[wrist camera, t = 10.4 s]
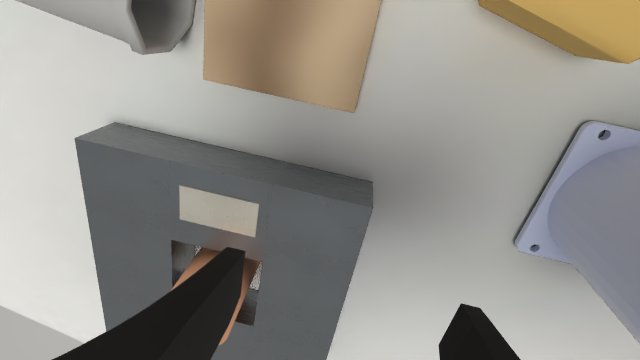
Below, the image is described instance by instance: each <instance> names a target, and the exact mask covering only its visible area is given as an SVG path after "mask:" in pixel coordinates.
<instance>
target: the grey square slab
mask: <svg viewBox="0 0 640 360" xmlns="http://www.w3.org/2000/svg"><path fill="white" fill-rule="evenodd" d="M75 143H76V150H77V156H78V162H79V168H80V174H81V180H82V186H83V192H84V198H85V204H86V210H87V216H88V222H89V228H90V234H91V240H92V246H93V253H94V259H95V265H96V271H97V277H98V283H99V289H100V295H101V301H102V307H103V313H104V319H105V325H106V331H109V330H110V329H112V328H114V327H116V326H117V325H119V324H121V323H122V322H124V321H126V320H127V319H129V318H131V317H132V316H134V315H136V314H137V313H139V312H140V311H142V310H143V309H145V308H147V307H148V306H150V305H151V304H153V303H154V302H155V301H157V300H158V299H160V298H161V297H163V296H164V295H166V294H167V293H169V292H170V291H171V290H172V288H173V287H174V285H175V284H176V283H177V281H178V280H179V278H180V277H181V276H182V274H183V273H184V271H185V270H186V269H187V267H188V266H189V265H190V263H191V262H192V260H193V259H194V258H195V246H199V247H204V248H208V249H212V250H216V251H220V252H221V251H222V250H223V249H225V248H226V247H231V248H235V249H239V250H243V251H245V258H249V259H253V260H257V261H261V262H263V264H262V271H261V278H260V285H259V291H257V290H253V289H248V291H247V294H246V296H245V298H244V301H243V303H242V305H241V308H240V310H239V312H238V315H237V317H236V319H235V322H234V324H233V326H232V329H231V331H230V333H229V336H228V338H227V339H226V341H225V342H224V343H222V344H221V345H219V346H218V347H217V349H216V351H215V352H214V354H213V356H212V358H211V360H326V359H327V355H328V352H329V349H330V346H331V342H332V339H333V336H334V333H335V329H336V326H337V323H338V320H339V316H340V313H341V310H342V307H343V303H344V300H345V297H346V294H347V290H348V287H349V284H350V281H351V277H352V274H353V271H354V268H355V264H356V261H357V258H358V255H359V251H360V248H361V245H362V242H363V238H364V235H365V232H366V229H367V226H368V222H369V219H370V216H371V213H372V209H373V184H372V182H370V181H365V180H361V179H357V178H352V177H348V176H344V175H339V174H335V173H331V172H326V171H322V170H318V169H313V168H309V167H305V166H300V165H296V164H292V163H287V162H283V161H279V160H274V159H270V158H266V157H261V156H257V155H253V154H248V153H244V152H240V151H235V150H231V149H227V148H222V147H218V146H214V145H209V144H205V143H201V142H196V141H192V140H188V139H183V138H179V137H175V136H170V135H166V134H162V133H157V132H153V131H149V130H144V129H140V128H136V127H132V126H127V125H123V124H119V123H112V124H110V125H107V126H105V127H102V128H99V129H97V130H94V131H92V132H89V133H86V134H84V135H81V136H79V137H76V138H75Z"/></svg>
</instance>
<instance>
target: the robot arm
mask: <svg viewBox="0 0 640 360" xmlns="http://www.w3.org/2000/svg"><path fill="white" fill-rule="evenodd" d="M603 130H605V134H604V135H603V136H602V137H600V138H598V135H599V133H600V132H601V131H603ZM514 244H515V247H516V248H517V249H518V251H520V252H523V253H527V254H531V255H536V256H540V257H544V258H548V259H553V260H557V261H561V262H565V263H570V264H573V265H574V267H575V268H576V269H577V270H578V271H579V273H580V274H581V275H582V276H583V277H584V279H585V280H586V281H587V282H588V283H589V284H590V286H591V287H592V288H593V289H594V290H595V292H596V293H597V294H598V295H599V296H600V298H601V299H602V300H603V301H604V302H605V303H606V305H607V306H608V307H609V308H610V309H611V311H612V312H613V313H614V314H615V315H616V317H617V318H618V319H619V320H620V321H621V322H622V324H623V325H624V326H625V327H626V328H627V330H628V331H629V332H630V333H631V334H632V336H633V337H634V338H635V339H636V340H637V341H638V343H639V344H640V131H639V130H634V129H630V128H625V127H620V126H616V125H611V124H606V123H602V122H597V121H589V122H586V123H585V124H583V125H582V126H581V127H580V129H579V130H578V132H577V134H576V136H575V137H574V139H573V141H572V142H571V144H570V146H569V148H568V149H567V151H566V153H565V155H564V156H563V158H562V160H561V162H560V163H559V165H558V167H557V169H556V170H555V172H554V174H553V176H552V177H551V179H550V181H549V183H548V184H547V186H546V188H545V190H544V191H543V193H542V195H541V197H540V198H539V200H538V202H537V204H536V205H535V207H534V209H533V210H532V212H531V214H530V216H529V217H528V219H527V221H526V223H525V224H524V226H523V228H522V230H521V231H520V233H519V235H518V237H517V238H516V240H515V243H514ZM534 244H536V246H535V247H533V248H530V247H531V246H532V245H534ZM244 260H245V251H243V250H239V249H235V248H231V247H226V248H225V249H223V250H222V251H221V252H220V253H219V254H217V255H216V256H215V257H214V258H213V259H211V260H210V261H209V262H208V263H207V264H205V265H204V266H203V267H202V268H200V269H199V270H198V271H197V272H195V273H194V274H193V275H191V276H190V277H189V278H188V279H186V280H185V281H184V282H182V283H181V284H180V285H178V286H177V287H176V288H174V289H173V290H171V291H170V292H169V293H167V294H166V295H164V296H163V297H161V298H160V299H158V300H157V301H155V302H154V303H153V304H151V305H150V306H148V307H147V308H145V309H143V310H142V311H140V312H139V313H137V314H136V315H134V316H132V317H131V318H129V319H127V320H126V321H124V322H122V323H121V324H119V325H117V326H116V327H114V328H112V329H110V330H109V331H107V332H105V333H103V334H101V335H99V336H98V337H96V338H94V339H92V340H90V341H88V342H87V343H85V344H83V345H81V346H79V347H77V348H75V349H73V350H71V351H69V352H67V353H65V354H63V355H61V356H59V357H57V358H55V359H52V360H211V358H212V356H213V354H214V352H215V351H216V349H217V347H218V345H219V343H220V341H221V339H222V337H223V335H224V334H225V332H226V330H227V328H228V326H229V324H230V321H231V319H232V316H233V314H234V311H235V309H236V306H237V304H238V301H239V299H240V296H241V288H242V279H243V269H244ZM439 354H440V360H520V359H519V357H518V356H517V355H516V353H515V352H514V351H513V350H512V348H511V347H510V346H509V344H508V343H507V342H506V341H505V339H504V338H503V337H502V335H501V334H500V333H499V331H498V330H497V329H496V328H495V326H494V325H493V324H492V322H491V321H490V320H489V319H488V317H487V316H486V315H485V314H484V312H483V311H482V310H481V309H480V308H477V307H473V306H469V305H465V304H461V305H460V306H459V308H458V310H457V312H456V314H455V316H454V318H453V319H452V321H451V323H450V325H449V327H448V329H447V331H446V332H445V334H444V336H443V338H442V340H441V342H440V344H439Z"/></svg>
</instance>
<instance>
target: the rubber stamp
mask: <svg viewBox="0 0 640 360" xmlns="http://www.w3.org/2000/svg"><path fill="white" fill-rule="evenodd" d="M479 6H481V7H483V8H485V9H487V10H489V11H491V12H493V13H495V14H497V15H499V16H500V17H502V18H504V19H506V20H508V21H510V22H512V23H514V24H516V25H518V26H520V27H522V28H523V29H525V30H527V31H529V32H531V33H533V34H535V35H537V36H539V37H541V38H543V39H544V40H546V41H548V42H550V43H552V44H554V45H556V46H558V47H560V48H562V49H564V50H565V51H567V52H569V53H571V54H573V55H575V56H580V57H586V58H593V59H599V60H606V61H612V62H618V63H627V64H629V63H631V62H633V61H635V60H638V59H640V0H479Z"/></svg>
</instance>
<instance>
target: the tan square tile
mask: <svg viewBox="0 0 640 360" xmlns="http://www.w3.org/2000/svg"><path fill="white" fill-rule="evenodd" d="M380 4H381V0H205V25H204V69H203V80H208V81H212V82H217V83H221V84H225V85H230V86H234V87H239V88H243V89H248V90H252V91H257V92H261V93H266V94H270V95H275V96H279V97H284V98H288V99H293V100H297V101H302V102H306V103H311V104H315V105H320V106H324V107H329V108H333V109H338V110H342V111H347V112H351V113H354V112H355V108H356V104H357V100H358V95H359V91H360V87H361V83H362V79H363V75H364V70H365V66H366V62H367V58H368V54H369V50H370V45H371V41H372V37H373V33H374V29H375V25H376V20H377V16H378V12H379V8H380Z"/></svg>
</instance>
